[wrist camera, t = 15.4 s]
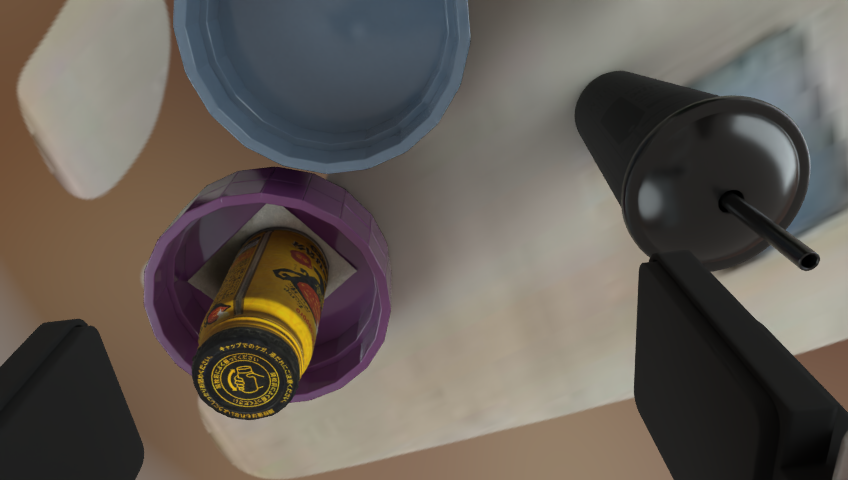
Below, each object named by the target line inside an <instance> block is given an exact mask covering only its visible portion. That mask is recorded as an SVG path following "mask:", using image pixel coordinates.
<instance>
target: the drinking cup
mask: <svg viewBox="0 0 848 480" xmlns="http://www.w3.org/2000/svg"><path fill="white" fill-rule="evenodd" d="M575 123H576V127H577V130H578V132H579V134H580V136H581V137H582V139H583V141H584V143H585V144H586V146H587V148H588V150H589V151H590V153H591V155H592V157H593V158H594V160H595V162H596V164H597V165H598V167H599V169H600V171H601V172H602V174H603V176H604V178H605V179H606V181H607V183H608V185H609V186H610V188H611V190H612V192H613V193H614V195H615V197H616V199H617V200H618V202H619V204H620V206H621V208H622V214H623V219H624V222H625V225H626V228H627V230H628V232H629V234H630V236H631V237H632V239H633V240H634V242H635V243H636V244H637V245H638V247H639V248H640V249H641V250H642V251H643V252H644V253H645V254H646V255H647V256H649V257H651V255H652V254H653V253H661V252H670V251H679V250H689V251H690V252H691V253H692V254H693V255H694V256H695V257H696V258H697V259H698V260H699V261H700V262H701V263H702V264H703V265H704V266H705V267H706V268H707V269H708V270H709V271H717V270H722V269H726V268H729V267H732V266H735V265H737V264H740V263H742V262H744V261H746V260H748V259H750V258H752V257H754V256H756V255H757V254H759V253H760V252H762V251H763V250H765V249H766V248H767V247H768V246H770V245H771V246H773V247H774V248H775V249H776V250H778V251H779V252H780V253H781V254H783V255H784V256H785V257H786V258H788V259H789V260H790V261H791V262H793V263H794V264H795V265H796V266H798V267H799V268H800V269H801V270H804V271H809V270H812V269H814V268H815V267H816V266H817V265H818V264H819V261H820V256H819V255H818V254H817V253H816V252H815V251H813V250H812V249H810V248H809V247H808V246H806V245H805V244H804V243H802V242H801V241H800V240H798V239H797V238H795V237H794V236H793V235H791V234H790V233H789V232H787V231H786V229H787V228H788V226H789V225H790V224H791V222H792V221H793V219H794V218H795V216H796V215H797V213H798V211H799V209H800V207H801V205H802V203H803V201H804V198H805V195H806V192H807V189H808V185H809V179H810V155H809V150H808V147H807V144H806V141H805V138H804V136H803V134H802V132H801V131H800V129H799V127H798V126H797V125H796V123H795V122H794V121H793V120H792V119H791V118H790V117H789V116H788V115H787V114H786V113H784V112H783V111H782V110H780V109H779V108H777V107H775V106H773V105H771V104H769V103H767V102H764V101H762V100H759V99H755V98H751V97H745V96H717V95H713V94H710V93H706V92H702V91H698V90H694V89H691V88H687V87H683V86H679V85H675V84H672V83H668V82H664V81H660V80H656V79H653V78H649V77H645V76H641V75H637V74H634V73H630V72H625V71H615V72H610V73H606V74H604V75H601V76H599V77H598V78H596V79H595V80H593V81H592V82H591V83H590V84H589V85H588V86H587V87H586V88H585V89H584V90H583V92H582V93H581V95H580V97H579V99H578V102H577V105H576V109H575Z"/></svg>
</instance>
